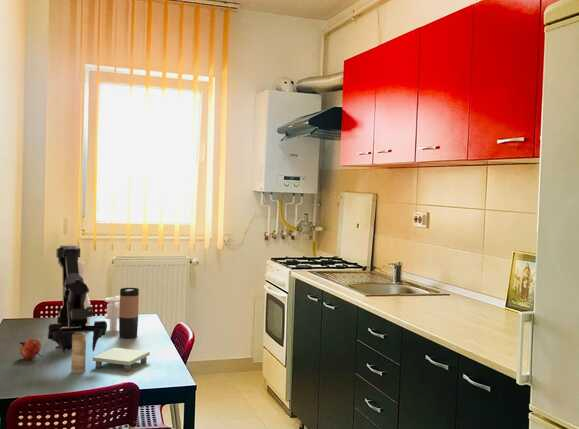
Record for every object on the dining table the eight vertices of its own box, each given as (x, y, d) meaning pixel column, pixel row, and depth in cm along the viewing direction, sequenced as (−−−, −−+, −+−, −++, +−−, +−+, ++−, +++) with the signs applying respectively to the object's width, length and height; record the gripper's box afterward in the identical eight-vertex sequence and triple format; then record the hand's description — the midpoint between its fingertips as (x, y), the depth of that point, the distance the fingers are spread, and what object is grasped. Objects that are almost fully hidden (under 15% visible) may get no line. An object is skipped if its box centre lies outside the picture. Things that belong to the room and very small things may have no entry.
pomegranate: (35, 361, 219) (11, 347, 214) (48, 344, 220) (25, 330, 216) (37, 368, 212) (13, 354, 208) (51, 351, 214) (27, 337, 209)
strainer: (121, 331, 259) (122, 297, 259) (103, 332, 258) (104, 297, 257) (122, 328, 266) (122, 294, 266) (105, 328, 265) (106, 294, 264)
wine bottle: (92, 329, 262) (94, 260, 261) (85, 334, 253) (87, 263, 252) (70, 328, 262) (72, 259, 261) (62, 333, 252) (64, 262, 252)
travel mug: (131, 333, 256) (133, 287, 256) (141, 337, 251) (142, 289, 250) (115, 336, 251) (116, 288, 250) (124, 339, 246) (125, 291, 245)
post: (76, 368, 204) (77, 332, 203) (87, 370, 203) (88, 333, 202) (68, 372, 200) (69, 335, 199) (80, 373, 198) (80, 336, 198)
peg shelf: (114, 357, 219) (114, 347, 219) (149, 361, 215) (149, 351, 215) (92, 368, 205) (92, 357, 205) (128, 372, 202) (129, 361, 202)
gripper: (49, 299, 200) (50, 340, 191) (107, 297, 208) (111, 336, 199) (46, 318, 208) (48, 358, 198) (102, 315, 216) (107, 354, 206)
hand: (79, 351), depth 200 cm, fingers open, 9 cm apart
